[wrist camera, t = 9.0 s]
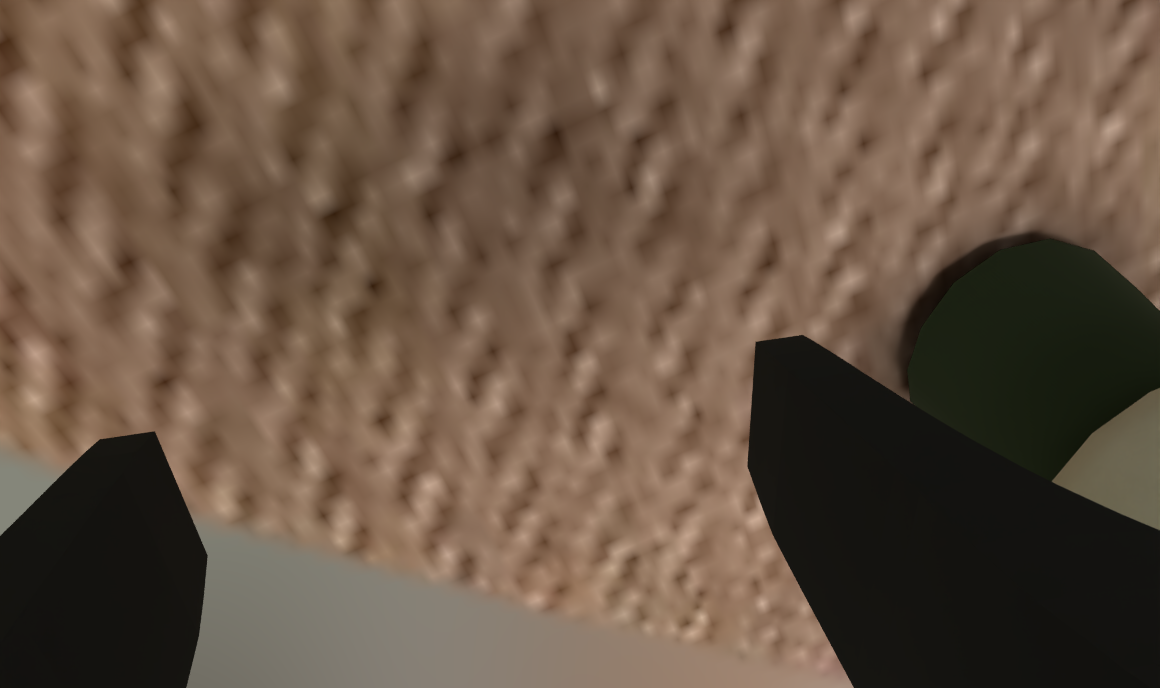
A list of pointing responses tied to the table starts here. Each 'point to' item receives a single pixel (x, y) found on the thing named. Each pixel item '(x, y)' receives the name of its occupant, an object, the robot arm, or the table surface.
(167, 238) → the table surface
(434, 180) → the table surface
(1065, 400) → the character mug
